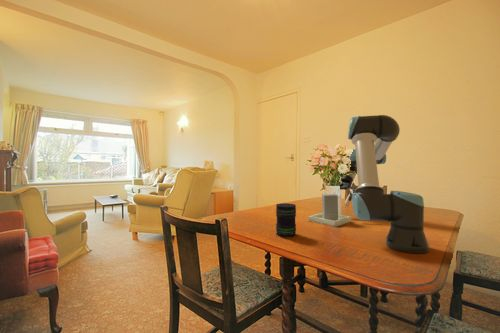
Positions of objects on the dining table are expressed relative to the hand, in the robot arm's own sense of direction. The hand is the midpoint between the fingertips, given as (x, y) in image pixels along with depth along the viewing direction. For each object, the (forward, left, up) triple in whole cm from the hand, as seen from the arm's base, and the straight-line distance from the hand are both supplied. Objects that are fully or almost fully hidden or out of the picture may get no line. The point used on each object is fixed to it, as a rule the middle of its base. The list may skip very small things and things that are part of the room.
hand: (335, 202), depth 152 cm
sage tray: (-8, 0, -10) cm, 13 cm away
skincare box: (-8, -1, -10) cm, 12 cm away
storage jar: (-49, -1, -11) cm, 50 cm away
